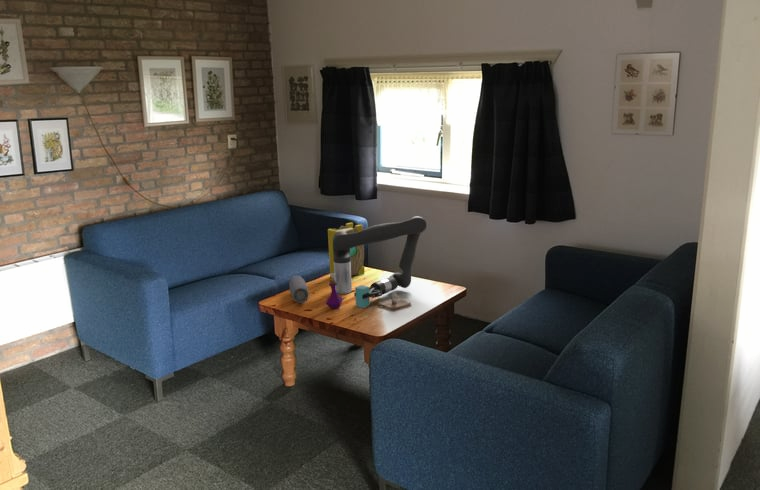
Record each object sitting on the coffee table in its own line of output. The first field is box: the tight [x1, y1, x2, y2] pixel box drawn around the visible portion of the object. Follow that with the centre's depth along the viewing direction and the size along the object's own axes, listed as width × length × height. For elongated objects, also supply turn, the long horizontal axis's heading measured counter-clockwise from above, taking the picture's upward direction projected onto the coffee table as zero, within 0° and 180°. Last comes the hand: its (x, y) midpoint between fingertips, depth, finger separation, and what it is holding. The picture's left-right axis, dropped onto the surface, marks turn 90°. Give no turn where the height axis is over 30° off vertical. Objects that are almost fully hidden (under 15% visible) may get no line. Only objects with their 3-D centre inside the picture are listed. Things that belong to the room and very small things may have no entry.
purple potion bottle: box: [325, 273, 344, 310], centre depth 334 cm, size 8×8×18 cm
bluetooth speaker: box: [288, 275, 310, 304], centre depth 350 cm, size 23×9×10 cm, turn 12°
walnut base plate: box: [377, 290, 412, 312], centre depth 334 cm, size 12×12×8 cm
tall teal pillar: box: [354, 284, 371, 309], centre depth 336 cm, size 5×5×10 cm
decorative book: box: [327, 222, 365, 278], centre depth 386 cm, size 20×11×30 cm, turn 132°
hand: (358, 296), depth 333 cm, fingers closed on tall teal pillar, 5 cm apart
